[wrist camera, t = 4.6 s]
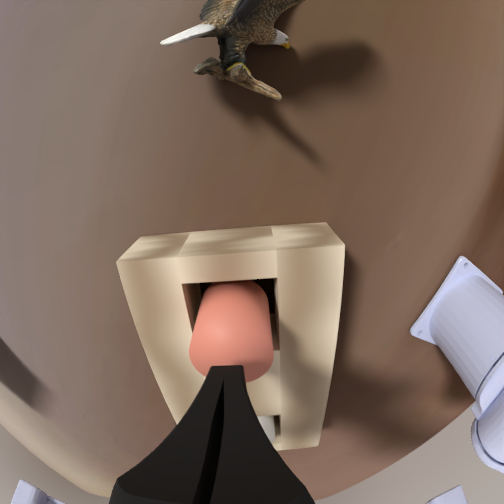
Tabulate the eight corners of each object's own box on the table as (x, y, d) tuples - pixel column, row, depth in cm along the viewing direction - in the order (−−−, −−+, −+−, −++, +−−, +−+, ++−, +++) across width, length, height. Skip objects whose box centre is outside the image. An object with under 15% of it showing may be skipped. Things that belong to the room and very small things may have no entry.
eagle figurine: (314, 116, 14) (370, -7, 9) (235, 89, 9) (322, -85, 4) (218, 79, 17) (265, -24, 12) (130, 60, 11) (193, -71, 6)
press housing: (325, 222, 18) (345, 245, 14) (312, 414, 25) (317, 445, 21) (140, 236, 18) (116, 261, 14) (195, 420, 25) (191, 451, 22)
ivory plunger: (271, 383, 23) (274, 424, 19) (272, 408, 24) (275, 446, 20) (225, 385, 23) (222, 426, 19) (231, 410, 25) (229, 448, 20)
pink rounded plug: (266, 273, 16) (272, 320, 12) (269, 329, 18) (274, 382, 13) (196, 278, 16) (180, 325, 12) (207, 333, 18) (197, 384, 14)
